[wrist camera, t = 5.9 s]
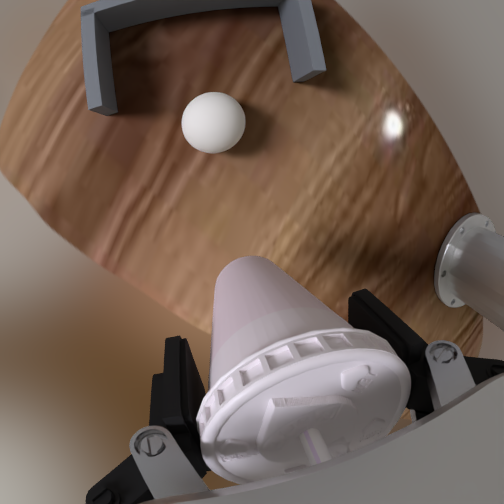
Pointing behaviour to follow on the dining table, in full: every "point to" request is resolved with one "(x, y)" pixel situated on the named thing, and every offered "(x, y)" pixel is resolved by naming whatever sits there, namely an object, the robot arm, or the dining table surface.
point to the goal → (179, 3)
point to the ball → (213, 122)
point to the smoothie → (290, 378)
